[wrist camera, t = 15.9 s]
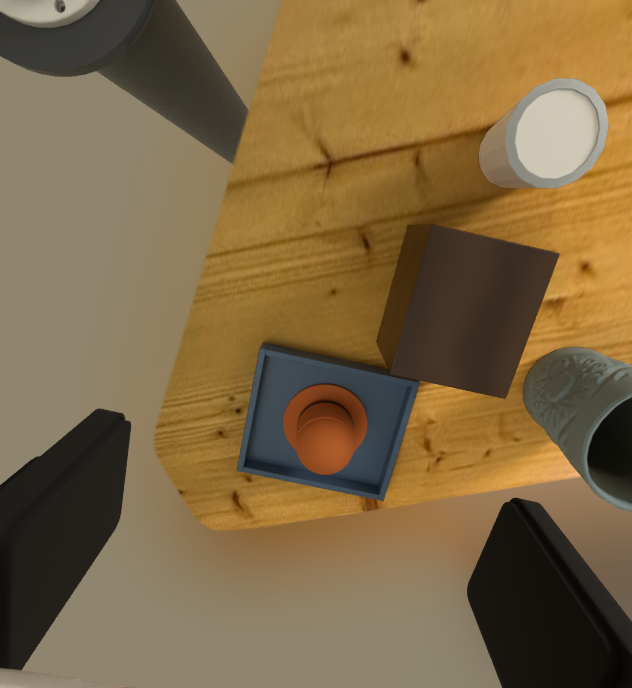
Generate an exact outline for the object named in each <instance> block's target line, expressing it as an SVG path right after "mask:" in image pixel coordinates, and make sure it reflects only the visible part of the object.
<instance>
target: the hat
mask: <svg viewBox="0 0 632 688" xmlns="http://www.w3.org/2000/svg"><path fill="white" fill-rule="evenodd" d="M367 424H368V422H367V415H366V411H365V408H364V406H363V404H362V403H361V401H360V400H359V399H358V397H357V396H356V395H355V394H353V393H352V392H351V391H349V390H348V389H346V388H344V387H341V386H338V385H335V384H324V383H323V384H316V385H312V386H309V387H306V388H304V389H302V390H301V391H300V392H298V393H297V394H296V395H295V396H294V397H293V398H292V399H291V400H290V402H289V403H288V405H287V407H286V410H285V413H284V418H283V427H284V432H285V435H286V438H287V440H288V441H289V443H290V444H291V446H292V447H293V448H294V449H295V450H296V451H297V454H298V457H299V459H300V461H301V462H302V464H303V465H304V466H305V467H306V468H307V469H308V470H310V471H312V472H314V473H316V474H320V475H330V474H334V473H337V472H339V471H340V470H342V469H343V468H344V467H345V466H346V465H347V464H348V463H349V461H350V459H351V457H352V455H353V452H354V451H355V450H356V449H357V448H358V447H359V446H360V444H361V443H362V441H363V439H364V438H365V435H366V432H367Z"/></svg>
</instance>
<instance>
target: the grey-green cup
mask: <svg viewBox="0 0 632 688" xmlns="http://www.w3.org/2000/svg"><path fill="white" fill-rule="evenodd" d="M523 399H524V403H525V406H526V408H527V410H528V412H529V414H530V415H531V416H532V418H533V419H534V420H535V421H536V422H537V423H538V424H539V425H540V426H542V427H543V428H544V430H545V431H546V433H547V434H548V435H549V436H550V438H551V440H552V441H553V442H554V443H555V444H556V445H558V446H559V448H560V449H561V451H562V452H563V454H564V455H565V456H566V458H567V459H568V460H569V462H570V463H571V465H572V466H573V467H574V468H575V469H576V471H577V472H578V473H579V474H580V475H581V477H582V478H583V479H584V480H585V481H586V483H587V484H588V485H589V486H590V488H591V489H592V490H593V492H594V493H595V494H596V495H598V496H599V497H600V498H601V499H603V500H605V501H607V502H608V503H610V504H612V505H614V506H616V507H617V508H620V509H623V510H627V511H631V512H632V365H630V364H627V363H624V362H622V361H618V360H616V359H613V358H610V357H607V356H605V355H603V354H601V353H599V352H597V351H594V350H591V349H588V348H583V347H568V348H562V349H559V350H556V351H553V352H551V353H549V354H547V355H546V356H544V357H543V358H542V359H540V360H539V361H538V362H537V363H536V364H535V365H534V366H533V367H532V369H531V370H530V371H529V373H528V375H527V377H526V380H525V383H524V387H523Z"/></svg>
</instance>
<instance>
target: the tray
mask: <svg viewBox="0 0 632 688" xmlns="http://www.w3.org/2000/svg"><path fill="white" fill-rule="evenodd" d="M323 383H324V384H335V385H338V386H341V387H344V388H346V389H348V390H349V391H351V392H352V393H353V394H355V395H356V396H357V397H358V399H359V400H360V401H361V403H362V404H363V406H364V408H365V411H366V415H367V422H368V424H367V432H366V435H365V438H364V439H363V441H362V443H361V444H360V446H359V447H358V448H357V449H356V450H355V451H354V452H353V455H352V457H351V459H350V461H349V463H348V464H347V465H346V466H345V467H344V468H343V469H342V470H340V471H339V472H337V473H334V474H330V475H320V474H316V473H314V472H312V471H310V470H308V469H307V468H306V467H305V466H304V465H303V464H302V462H301V461H300V459H299V457H298V454H297V451H296V450H295V449H294V448H293V447H292V446H291V444H290V443H289V441H288V440H287V438H286V435H285V432H284V427H283V418H284V413H285V410H286V407H287V405H288V403H289V402H290V400H291V399H292V398H293V397H294V396H295V395H296V394H297V393H298V392H300V391H301V390H302V389H304V388H306V387H309V386H312V385H316V384H323ZM419 384H420V382H419V381H418V380H415V379H411V378H406V377H402V376H397V375H392V374H390V373H389V370H388V369H384V368H379V367H374V366H370V365H365V364H360V363H356V362H351V361H347V360H342V359H337V358H333V357H328V356H323V355H319V354H314V353H310V352H305V351H300V350H296V349H291V348H286V347H282V346H277V345H273V344H268V343H262V345H261V347H260V349H259V355H258V360H257V365H256V371H255V376H254V381H253V387H252V392H251V397H250V403H249V408H248V413H247V419H246V424H245V429H244V435H243V440H242V445H241V451H240V456H239V461H238V467H237V471H240V472H242V471H243V472H245V473H250V474H255V475H260V476H265V477H270V478H274V479H279V480H284V481H289V482H294V483H299V484H304V485H309V486H313V487H318V488H323V489H328V490H333V491H338V492H343V493H347V494H352V495H357V496H362V497H367V498H372V499H377V500H381V501H384V497H385V494H386V491H387V488H388V484H389V481H390V478H391V475H392V471H393V468H394V465H395V462H396V458H397V455H398V452H399V449H400V445H401V442H402V439H403V436H404V432H405V429H406V426H407V423H408V419H409V416H410V413H411V410H412V406H413V403H414V400H415V397H416V393H417V390H418V387H419Z"/></svg>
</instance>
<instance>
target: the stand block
mask: <svg viewBox="0 0 632 688" xmlns="http://www.w3.org/2000/svg"><path fill="white" fill-rule="evenodd" d="M559 255H560V254H559V253H556V252H552V251H547V250H543V249H539V248H534V247H530V246H526V245H521V244H517V243H513V242H508V241H504V240H499V239H495V238H491V237H486V236H482V235H478V234H473V233H469V232H465V231H460V230H456V229H451V228H447V227H443V226H438V225H434V224H430V225H408V226H407V229H406V233H405V236H404V240H403V244H402V248H401V251H400V255H399V259H398V263H397V266H396V270H395V274H394V277H393V281H392V285H391V289H390V292H389V296H388V300H387V303H386V307H385V311H384V315H383V318H382V322H381V326H380V330H379V333H378V337H377V341H376V343H377V345H378V347H379V350H380V352H381V354H382V356H383V359H384V361H385V363H386V366H387V368H388V370H389V373H390V374H392V375H397V376H402V377H406V378H411V379H415V380H420V381H425V382H429V383H434V384H439V385H443V386H448V387H453V388H457V389H462V390H466V391H471V392H476V393H480V394H485V395H490V396H494V397H499V398H503V399H506V396H507V394H508V391H509V388H510V386H511V383H512V380H513V378H514V375H515V372H516V370H517V367H518V364H519V362H520V359H521V356H522V354H523V351H524V348H525V346H526V343H527V340H528V338H529V335H530V332H531V330H532V327H533V324H534V321H535V319H536V316H537V313H538V311H539V308H540V305H541V303H542V300H543V297H544V295H545V292H546V289H547V287H548V284H549V281H550V279H551V276H552V273H553V271H554V268H555V265H556V263H557V260H558V257H559Z"/></svg>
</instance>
